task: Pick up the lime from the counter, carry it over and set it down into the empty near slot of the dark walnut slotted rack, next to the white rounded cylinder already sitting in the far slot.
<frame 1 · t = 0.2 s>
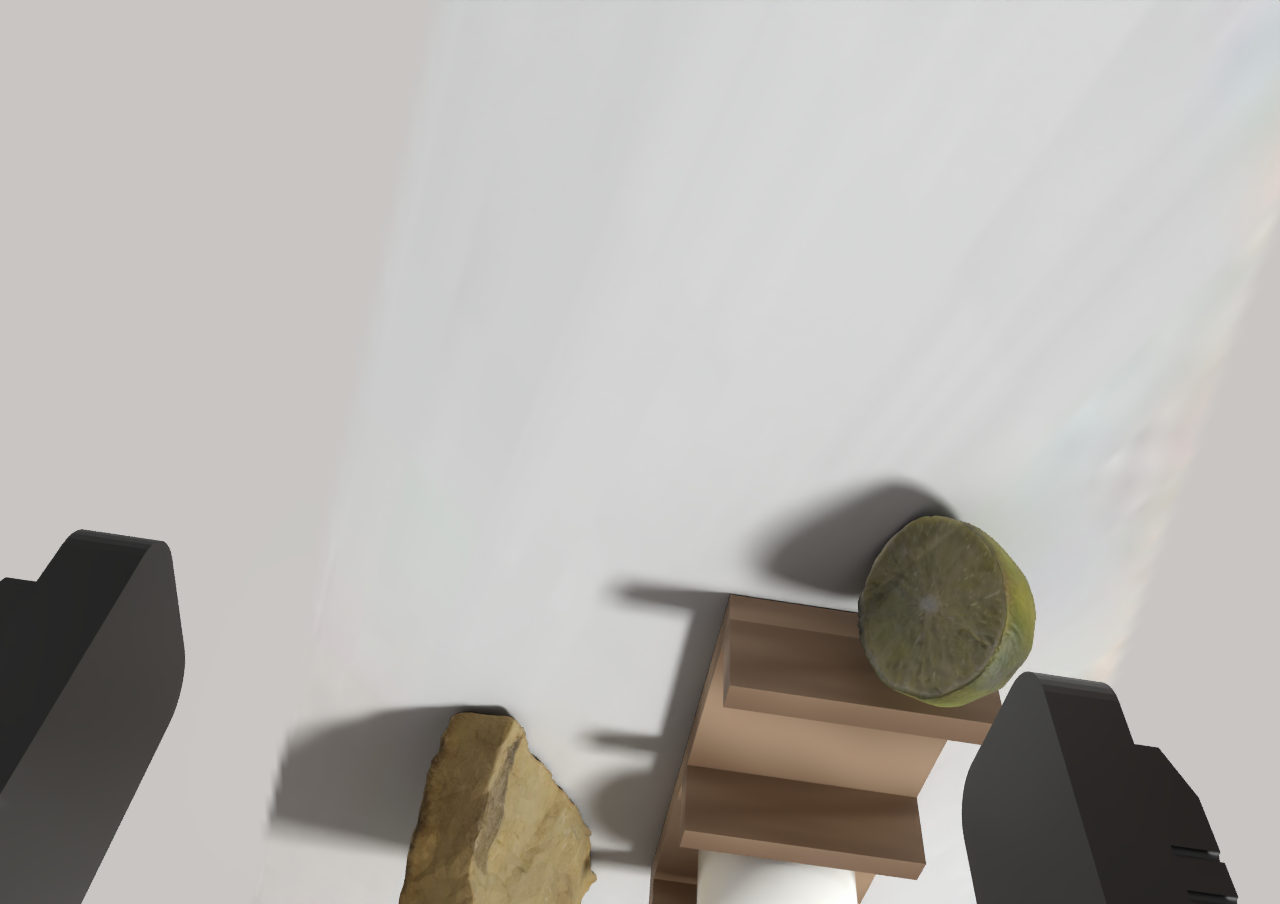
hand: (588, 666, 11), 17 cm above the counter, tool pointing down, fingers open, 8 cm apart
lime: (935, 546, 33), on the counter
rock: (525, 790, 43), on the counter
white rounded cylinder: (775, 847, 42), point 1 cm above the counter, touching rack
rack: (797, 764, 40), on the counter
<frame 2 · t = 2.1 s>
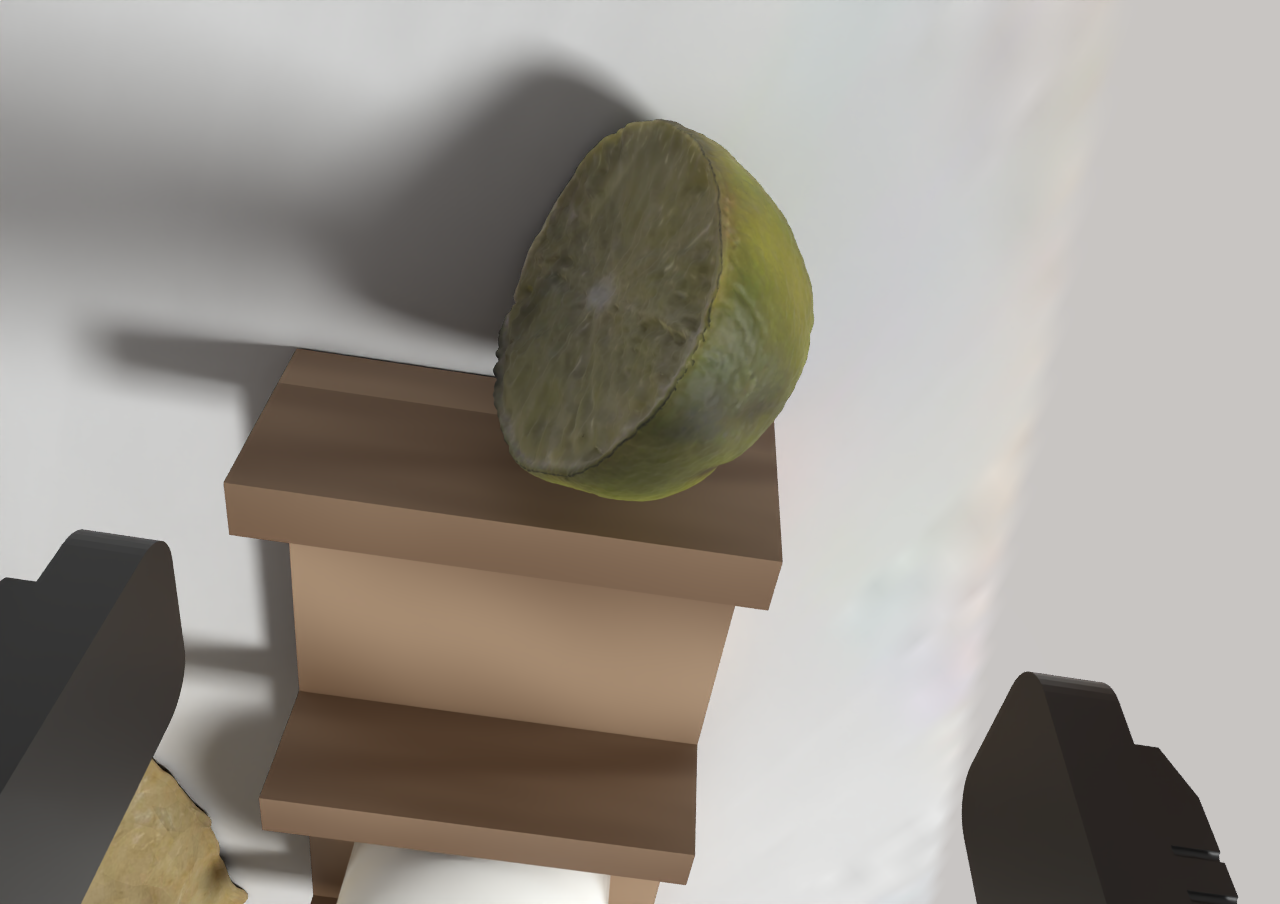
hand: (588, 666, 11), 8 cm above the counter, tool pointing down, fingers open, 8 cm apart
lime: (653, 228, 17), on the counter
rock: (93, 751, 26), on the counter
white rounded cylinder: (487, 840, 25), point 1 cm above the counter, touching rack
rack: (505, 695, 24), on the counter
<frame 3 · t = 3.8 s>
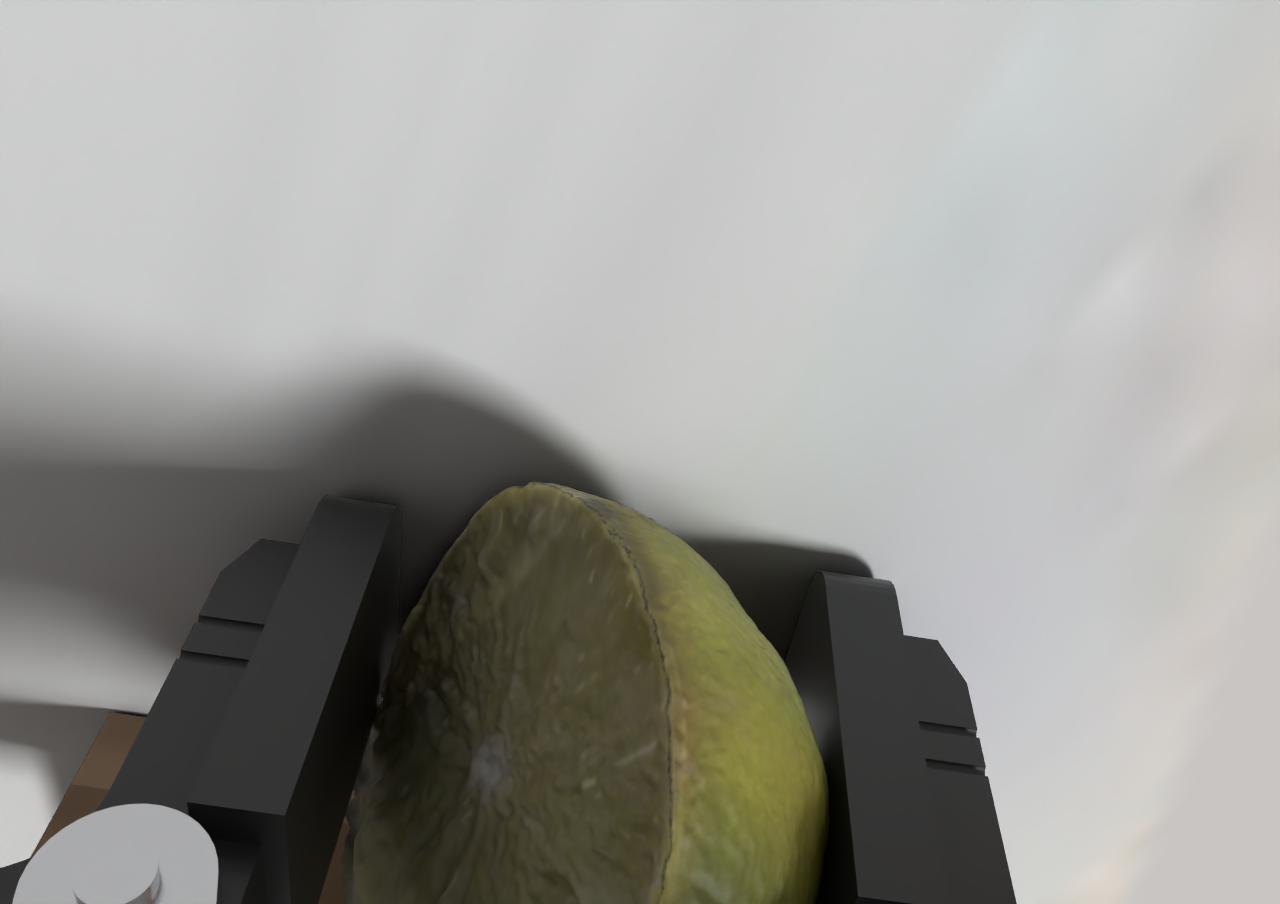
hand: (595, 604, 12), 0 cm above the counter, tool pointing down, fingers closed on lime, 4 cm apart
lime: (591, 581, 12), on the counter, touching gripper
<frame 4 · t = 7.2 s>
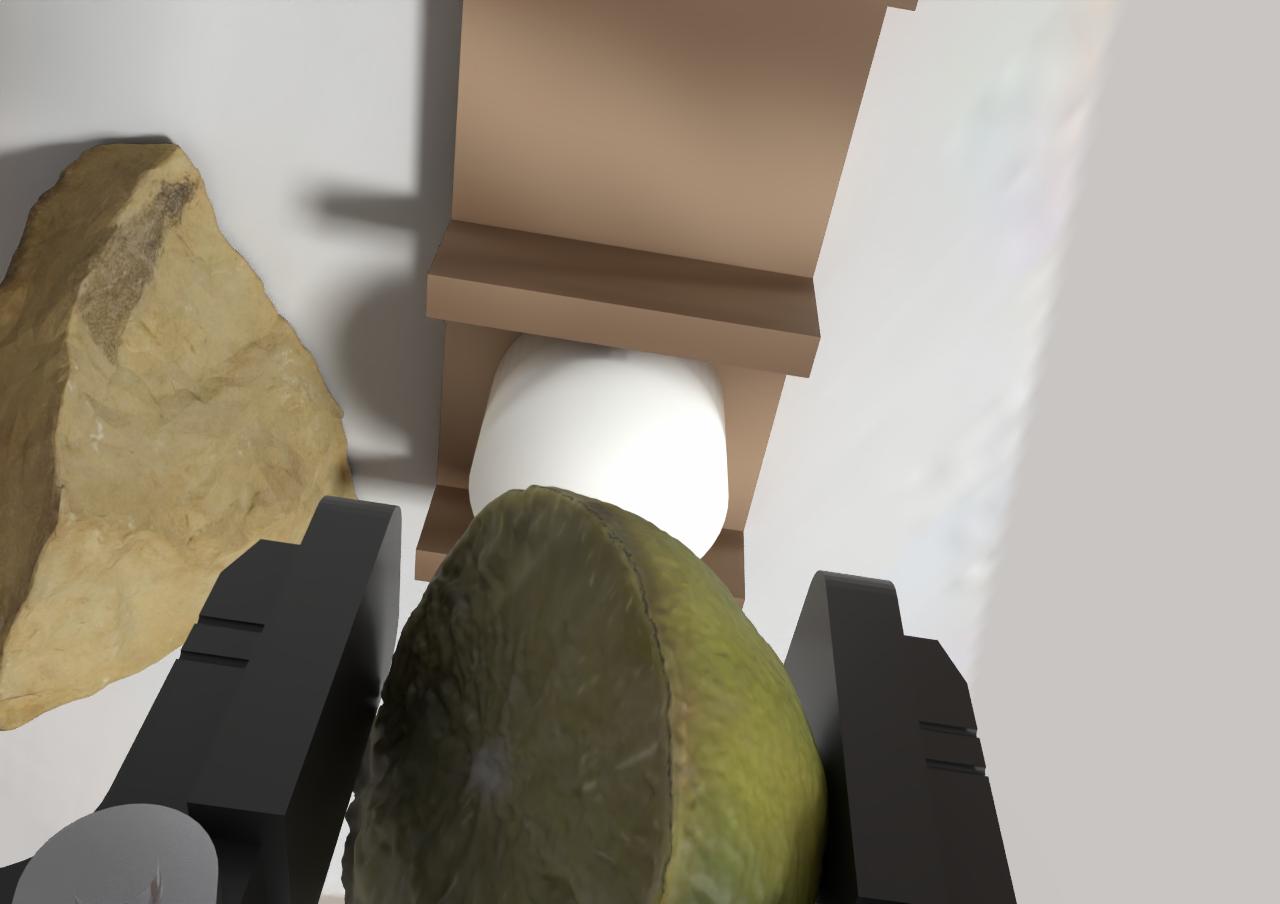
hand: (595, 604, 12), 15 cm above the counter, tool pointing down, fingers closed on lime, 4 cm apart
lime: (591, 584, 12), point 15 cm above the counter, touching gripper
rock: (238, 337, 28), on the counter
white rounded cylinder: (607, 407, 27), point 1 cm above the counter, touching rack
rack: (632, 248, 26), on the counter
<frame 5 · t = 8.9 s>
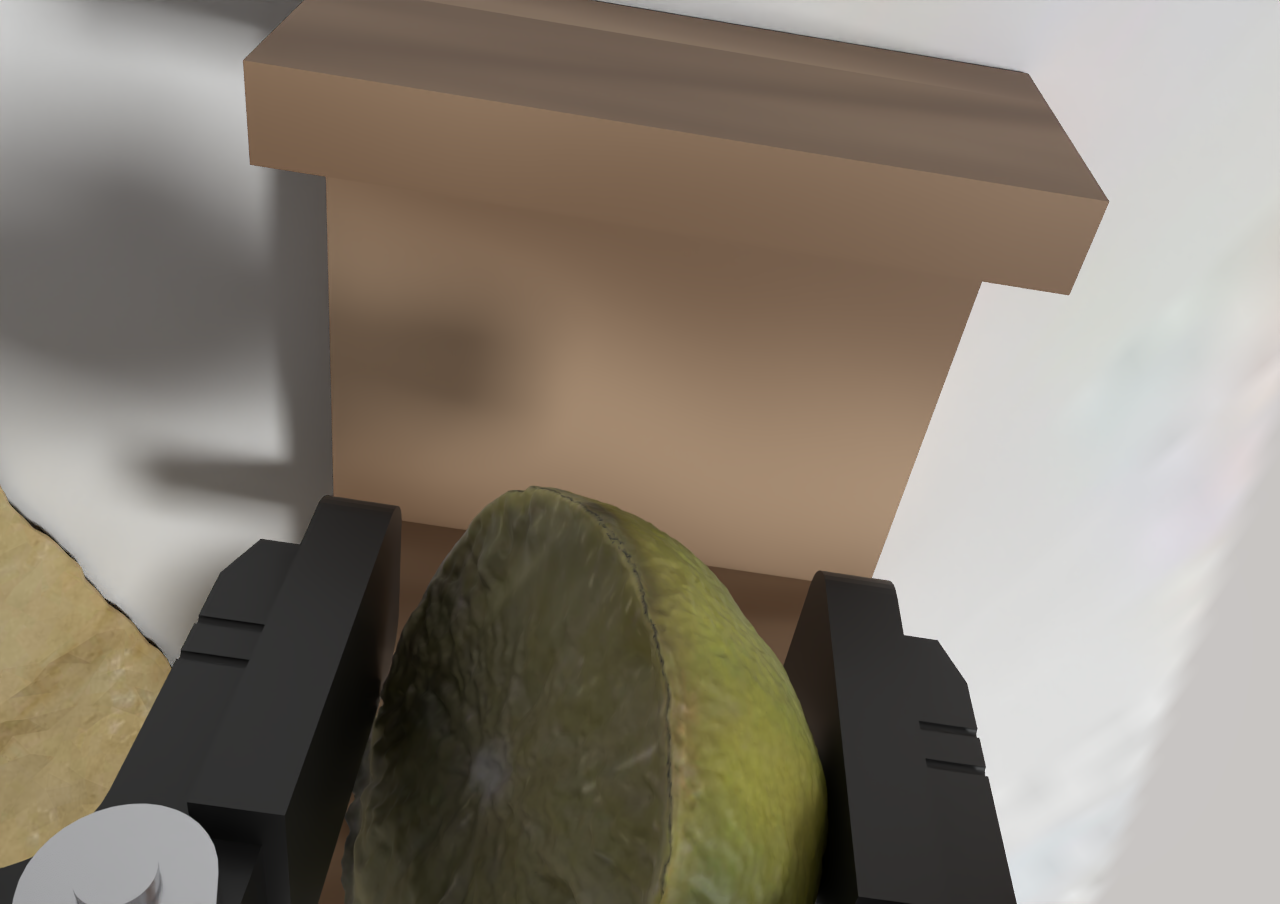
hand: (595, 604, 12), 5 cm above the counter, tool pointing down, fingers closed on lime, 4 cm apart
lime: (591, 584, 12), point 5 cm above the counter, touching gripper
rock: (60, 622, 20), on the counter
rack: (604, 530, 18), on the counter
when the fingers open (3 cm above the counter, at t = 10.2 s): lime drops 2 cm, resting on rack.
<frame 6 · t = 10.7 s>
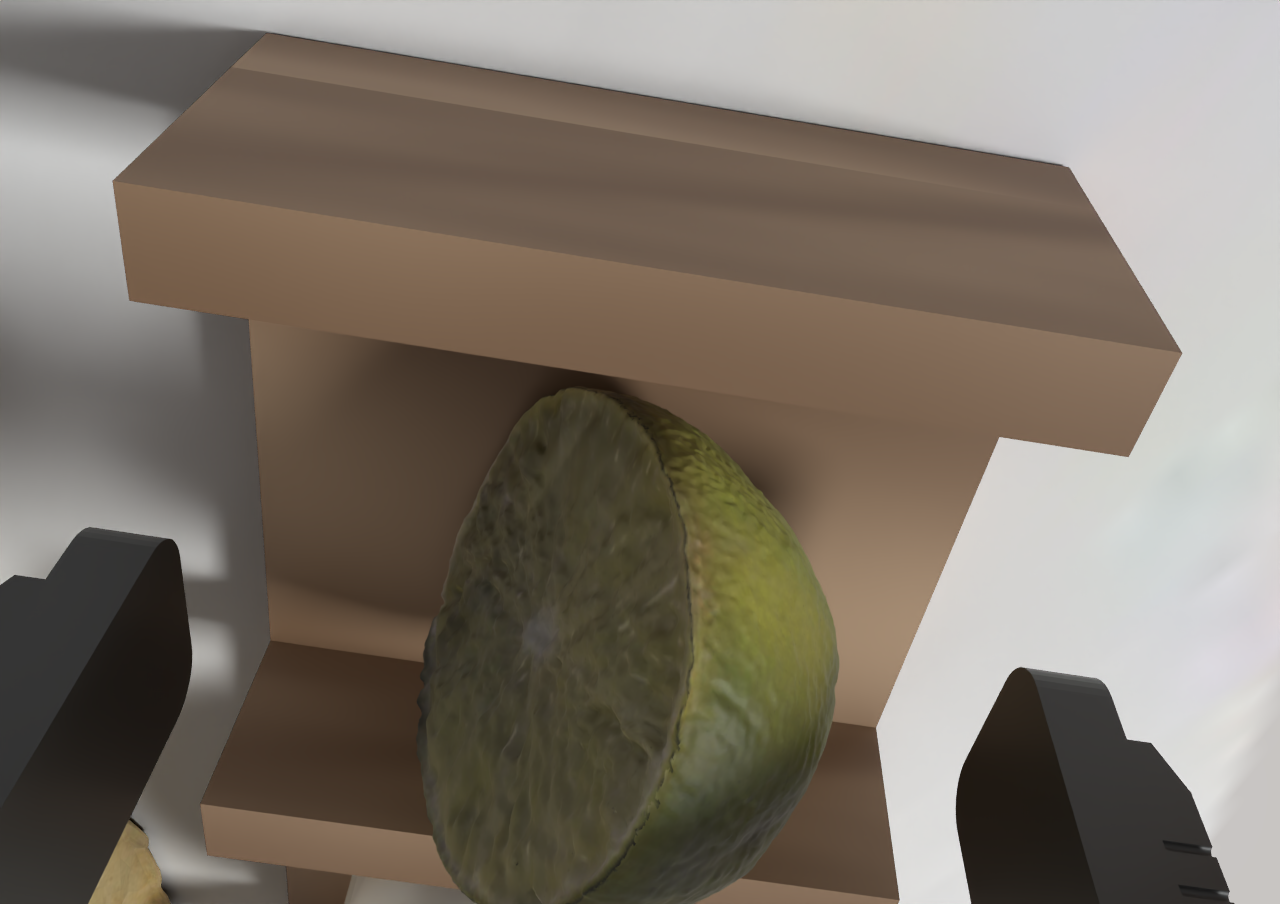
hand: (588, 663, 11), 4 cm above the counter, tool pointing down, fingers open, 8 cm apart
lime: (622, 488, 13), point 1 cm above the counter, touching rack
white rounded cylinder: (544, 873, 17), point 1 cm above the counter, touching rack
rack: (579, 653, 16), on the counter
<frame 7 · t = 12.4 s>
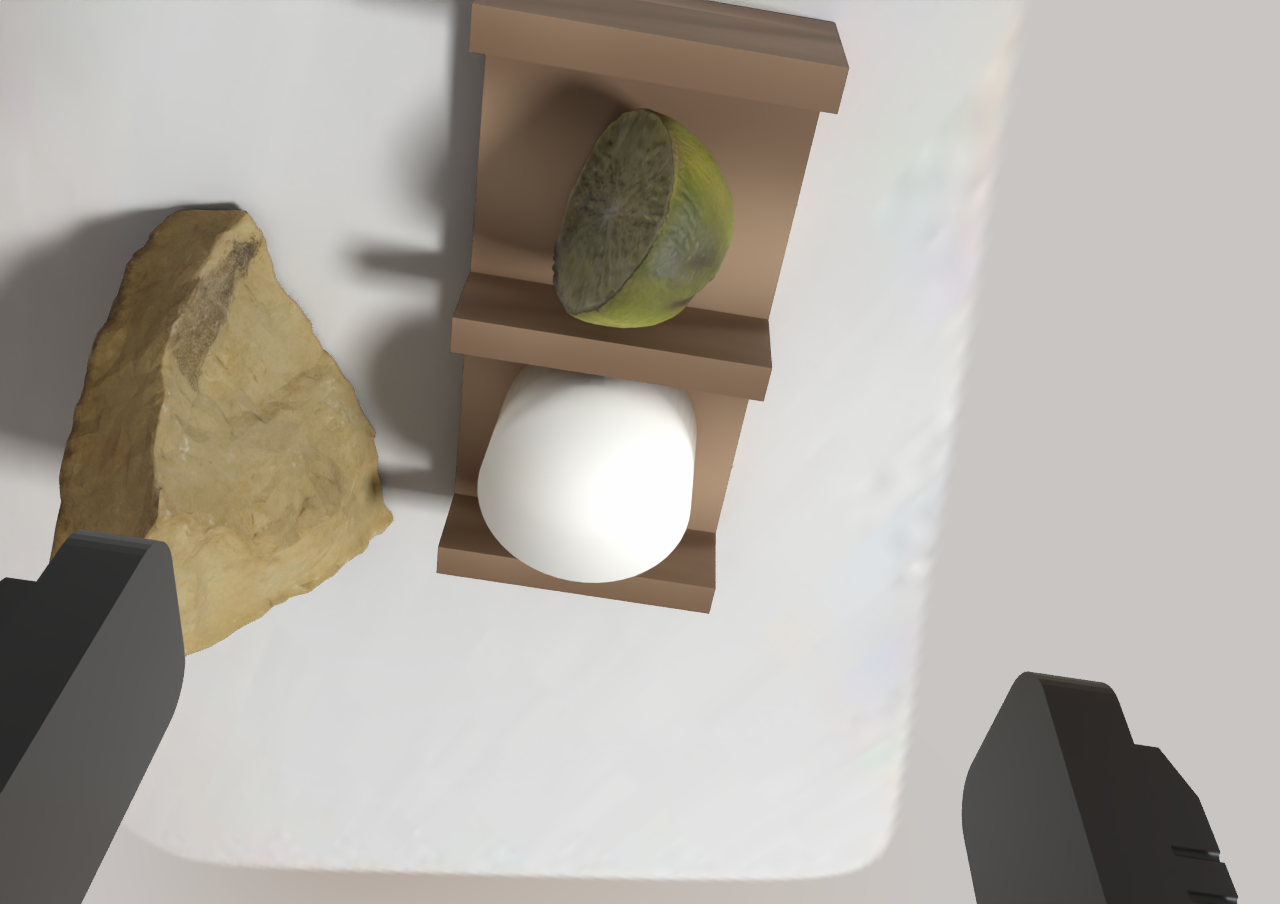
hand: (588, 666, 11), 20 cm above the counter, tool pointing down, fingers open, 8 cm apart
lime: (644, 179, 29), point 1 cm above the counter, touching rack
rock: (287, 368, 34), on the counter
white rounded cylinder: (599, 427, 33), point 1 cm above the counter, touching rack
rack: (620, 294, 31), on the counter
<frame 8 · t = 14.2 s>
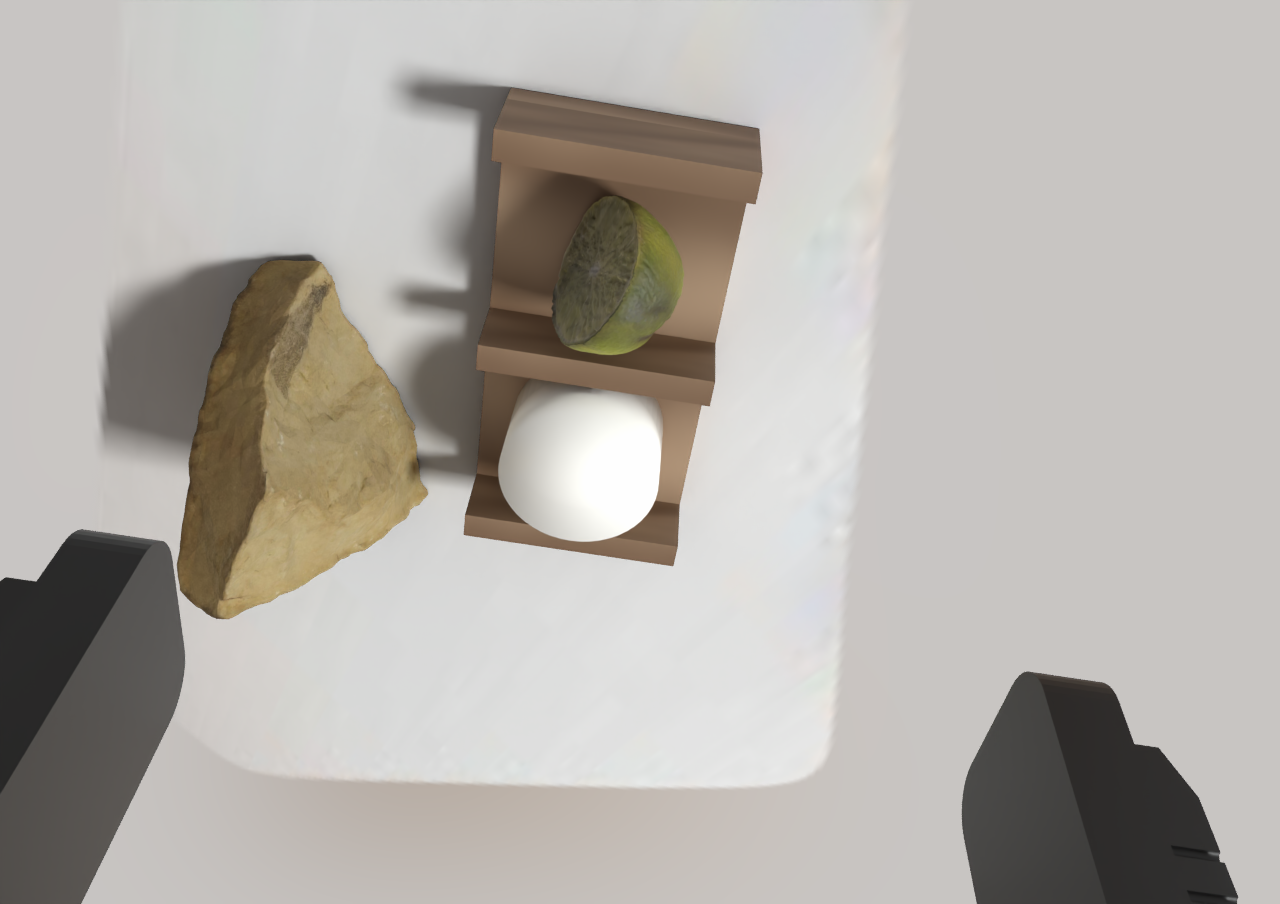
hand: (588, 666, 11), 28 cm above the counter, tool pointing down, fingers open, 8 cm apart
lime: (620, 241, 38), point 1 cm above the counter, touching rack
rock: (347, 377, 44), on the counter
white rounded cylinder: (588, 423, 42), point 1 cm above the counter, touching rack
rack: (603, 322, 41), on the counter
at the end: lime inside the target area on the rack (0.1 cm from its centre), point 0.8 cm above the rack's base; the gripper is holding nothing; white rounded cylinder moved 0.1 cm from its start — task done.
